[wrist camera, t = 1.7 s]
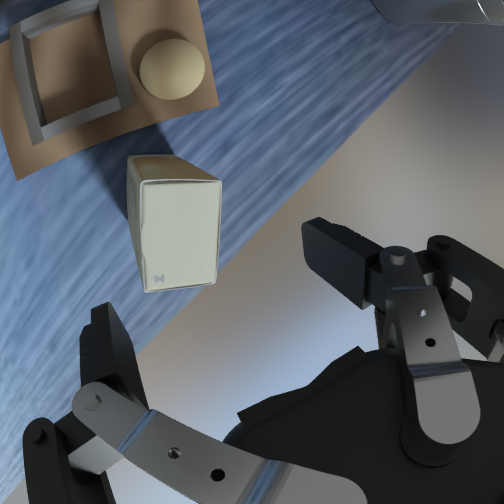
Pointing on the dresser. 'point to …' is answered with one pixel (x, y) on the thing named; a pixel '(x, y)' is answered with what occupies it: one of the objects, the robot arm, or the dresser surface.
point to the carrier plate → (99, 75)
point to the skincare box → (173, 221)
